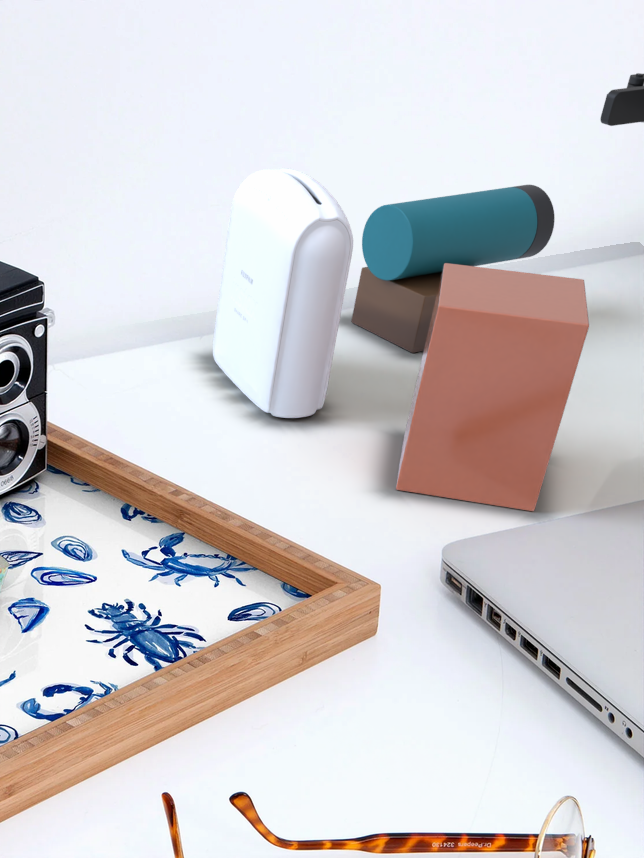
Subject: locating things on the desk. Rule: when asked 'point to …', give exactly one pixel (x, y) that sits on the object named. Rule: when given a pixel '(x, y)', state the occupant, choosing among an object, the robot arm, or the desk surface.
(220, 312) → the photo printer
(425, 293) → the block
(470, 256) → the bottle
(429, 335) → the plinth
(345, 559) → the desk surface
